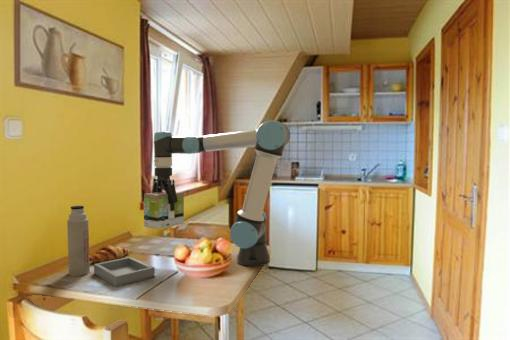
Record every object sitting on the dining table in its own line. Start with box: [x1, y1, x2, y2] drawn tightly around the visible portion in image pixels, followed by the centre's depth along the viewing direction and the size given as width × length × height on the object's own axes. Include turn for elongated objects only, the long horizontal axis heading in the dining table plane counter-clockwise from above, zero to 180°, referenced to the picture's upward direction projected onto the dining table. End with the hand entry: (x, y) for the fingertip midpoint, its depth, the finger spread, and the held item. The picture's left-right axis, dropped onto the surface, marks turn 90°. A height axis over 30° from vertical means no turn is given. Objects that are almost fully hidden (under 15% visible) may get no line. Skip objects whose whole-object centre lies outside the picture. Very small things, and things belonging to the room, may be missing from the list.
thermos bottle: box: [66, 205, 91, 277], centre depth 164 cm, size 8×8×28 cm
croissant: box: [89, 245, 130, 264], centre depth 185 cm, size 21×10×8 cm, turn 146°
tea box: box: [143, 191, 185, 230], centre depth 175 cm, size 15×10×15 cm, turn 146°
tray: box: [93, 256, 156, 288], centre depth 161 cm, size 21×16×4 cm
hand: (164, 216), depth 175 cm, fingers closed on tea box, 11 cm apart
